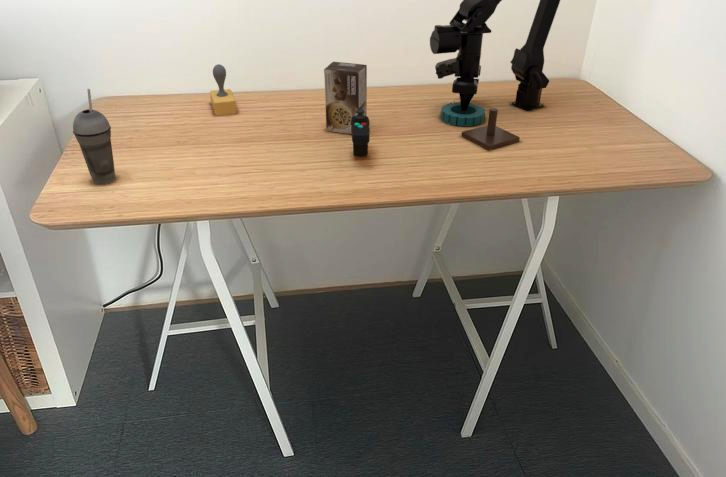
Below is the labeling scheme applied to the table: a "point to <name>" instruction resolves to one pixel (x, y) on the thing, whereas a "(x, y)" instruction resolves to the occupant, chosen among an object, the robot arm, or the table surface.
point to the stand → (490, 134)
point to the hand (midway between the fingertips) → (464, 108)
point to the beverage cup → (95, 144)
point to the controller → (360, 133)
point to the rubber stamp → (222, 94)
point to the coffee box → (344, 94)
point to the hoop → (462, 114)
